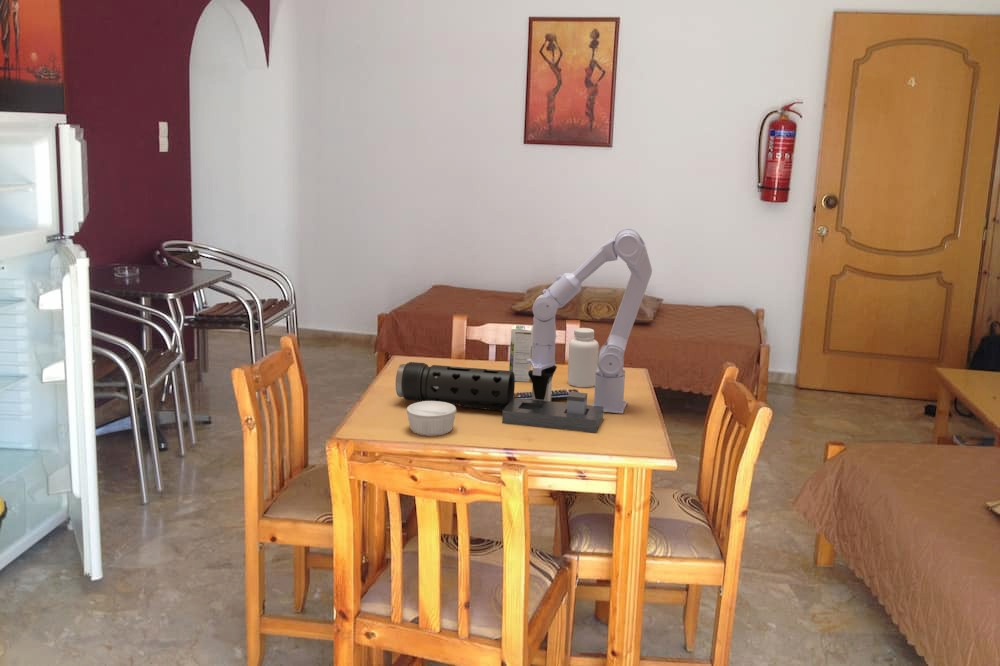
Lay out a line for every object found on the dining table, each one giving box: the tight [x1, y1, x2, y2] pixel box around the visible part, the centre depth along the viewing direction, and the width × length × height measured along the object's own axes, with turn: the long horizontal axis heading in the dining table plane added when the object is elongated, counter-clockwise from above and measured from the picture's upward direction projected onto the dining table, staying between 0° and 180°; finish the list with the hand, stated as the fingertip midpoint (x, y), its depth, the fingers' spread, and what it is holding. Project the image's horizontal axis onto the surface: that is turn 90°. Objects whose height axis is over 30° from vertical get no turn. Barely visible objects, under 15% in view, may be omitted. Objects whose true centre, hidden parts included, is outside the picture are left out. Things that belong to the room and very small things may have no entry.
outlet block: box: [501, 397, 604, 434], centre depth 223 cm, size 11×22×3 cm, turn 76°
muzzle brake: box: [394, 361, 516, 411], centre depth 232 cm, size 10×28×10 cm, turn 78°
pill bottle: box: [567, 327, 600, 388], centre depth 254 cm, size 8×8×15 cm
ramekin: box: [406, 401, 457, 437], centre depth 214 cm, size 11×11×5 cm
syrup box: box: [508, 324, 533, 383], centre depth 257 cm, size 6×6×14 cm
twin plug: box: [566, 391, 588, 415], centre depth 221 cm, size 4×4×7 cm
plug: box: [531, 376, 553, 402], centre depth 236 cm, size 4×4×7 cm
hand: (541, 396), depth 236 cm, fingers closed on plug, 4 cm apart
